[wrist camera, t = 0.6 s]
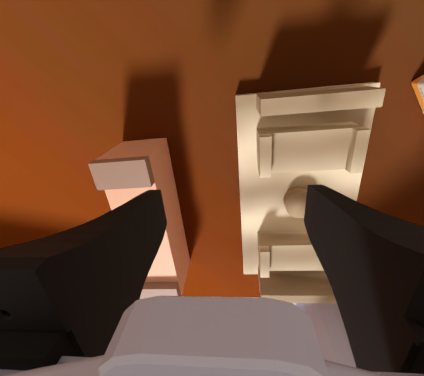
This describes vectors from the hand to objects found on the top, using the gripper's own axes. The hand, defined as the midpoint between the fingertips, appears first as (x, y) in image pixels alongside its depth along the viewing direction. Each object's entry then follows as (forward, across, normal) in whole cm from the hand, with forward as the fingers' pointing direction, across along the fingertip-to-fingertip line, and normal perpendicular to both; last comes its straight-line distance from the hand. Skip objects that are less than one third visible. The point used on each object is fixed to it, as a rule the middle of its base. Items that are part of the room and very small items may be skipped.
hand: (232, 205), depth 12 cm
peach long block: (+10, +8, +6) cm, 14 cm away
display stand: (+10, -6, +5) cm, 12 cm away
